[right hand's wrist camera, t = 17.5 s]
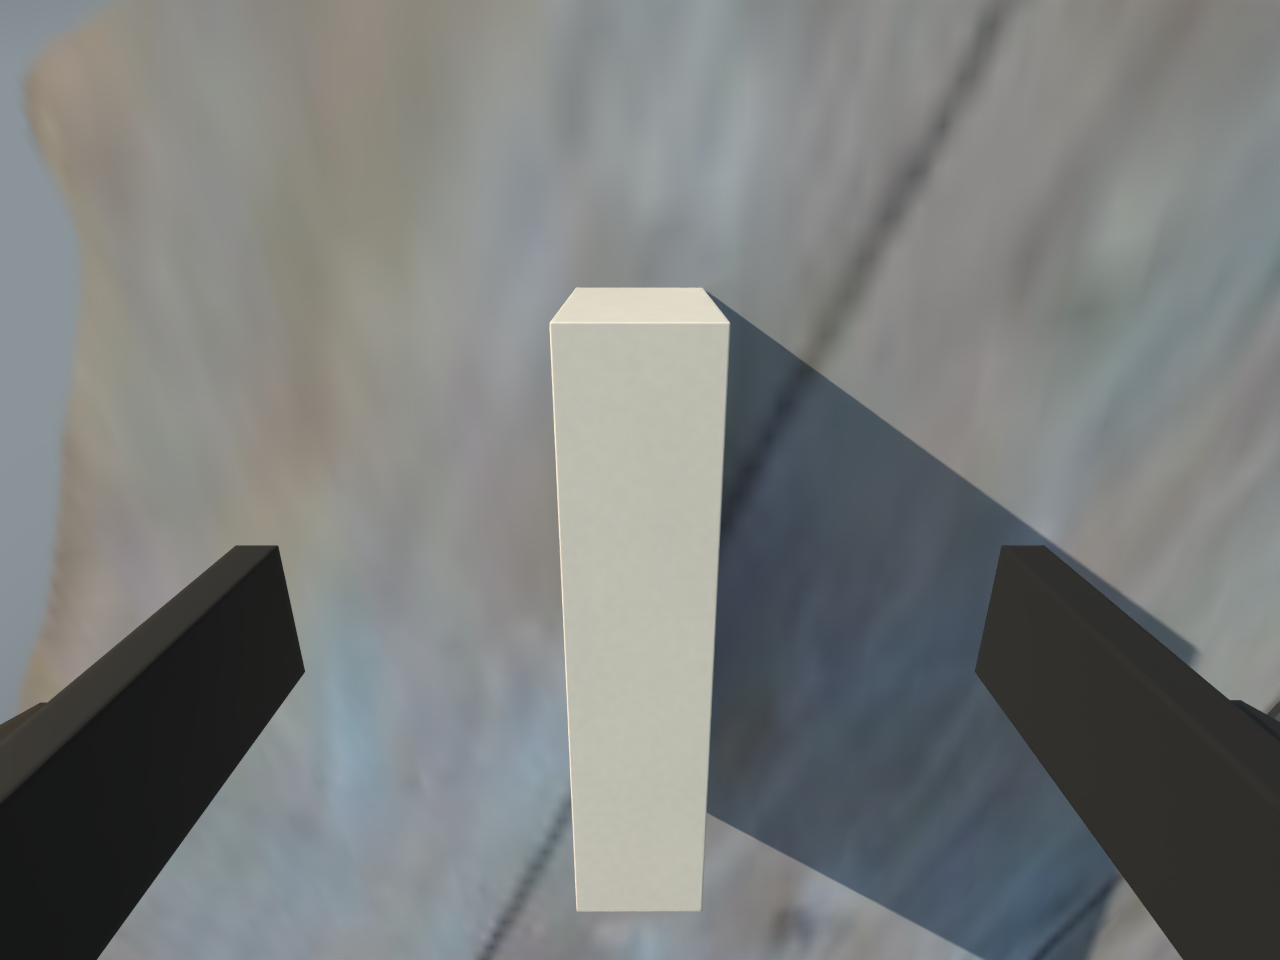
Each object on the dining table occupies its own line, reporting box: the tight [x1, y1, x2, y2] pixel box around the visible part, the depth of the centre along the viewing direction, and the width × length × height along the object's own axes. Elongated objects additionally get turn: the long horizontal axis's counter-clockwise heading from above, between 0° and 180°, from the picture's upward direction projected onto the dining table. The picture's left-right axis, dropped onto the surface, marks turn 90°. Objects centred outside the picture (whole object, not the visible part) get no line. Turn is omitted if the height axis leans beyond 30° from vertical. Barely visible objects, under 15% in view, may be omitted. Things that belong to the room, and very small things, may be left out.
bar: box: [550, 288, 730, 912], centre depth 30 cm, size 25×5×9 cm, turn 0°
